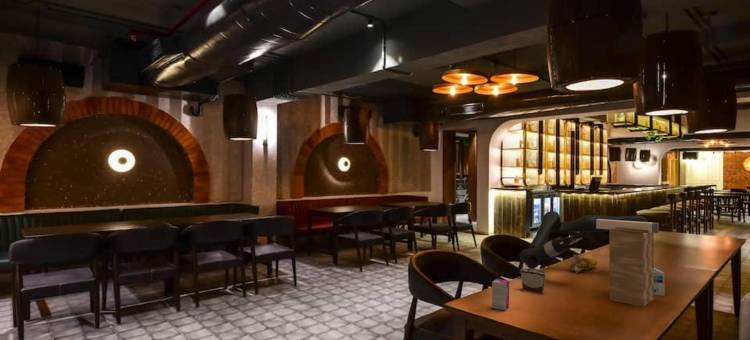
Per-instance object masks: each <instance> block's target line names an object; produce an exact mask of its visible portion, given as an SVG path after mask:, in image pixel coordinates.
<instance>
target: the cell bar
mask: <svg viewBox="0 0 750 340" xmlns="http://www.w3.org/2000/svg"><path fill="white" fill-rule="evenodd" d="M615 227H618V228H629V229H641V230H649V233H654V234H658V233H659V232H660V230H659V228H660V223H659V222H651V221H650V222H649V221H648V222H636V221H620V220H605V219H597V220H596V228H597V229H615Z"/></svg>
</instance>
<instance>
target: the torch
mask: <svg viewBox="0 0 750 340" xmlns="http://www.w3.org/2000/svg"><path fill="white" fill-rule="evenodd" d="M573 257H574V259H572V262H569V263H568V268H569V269H572V272H573V271H574V272H575V274H577V273H580V272H582V271H585V272H587V271H588V270H590V269H591V268H594V267H596V266H597V265H598V260H597V259H593V258H588V257H584V256H583V257H580V256H579V255H577V254H573Z"/></svg>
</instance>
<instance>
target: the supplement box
mask: <svg viewBox="0 0 750 340" xmlns="http://www.w3.org/2000/svg"><path fill="white" fill-rule="evenodd" d="M491 286H492V287H491V310H495V311H501V312H506V311H507V310H508V309H509V308H510V280H508V279H507V280H506V279H499V278H496V279H494V280H493V281H492V282H491Z"/></svg>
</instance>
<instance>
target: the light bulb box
mask: <svg viewBox="0 0 750 340" xmlns="http://www.w3.org/2000/svg"><path fill="white" fill-rule="evenodd" d="M665 289H666V288H665V272H663V271H662V270H659V269H657V268H656V267H654V296H664V297H665V294H666V293H665V291H666V290H665Z"/></svg>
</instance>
